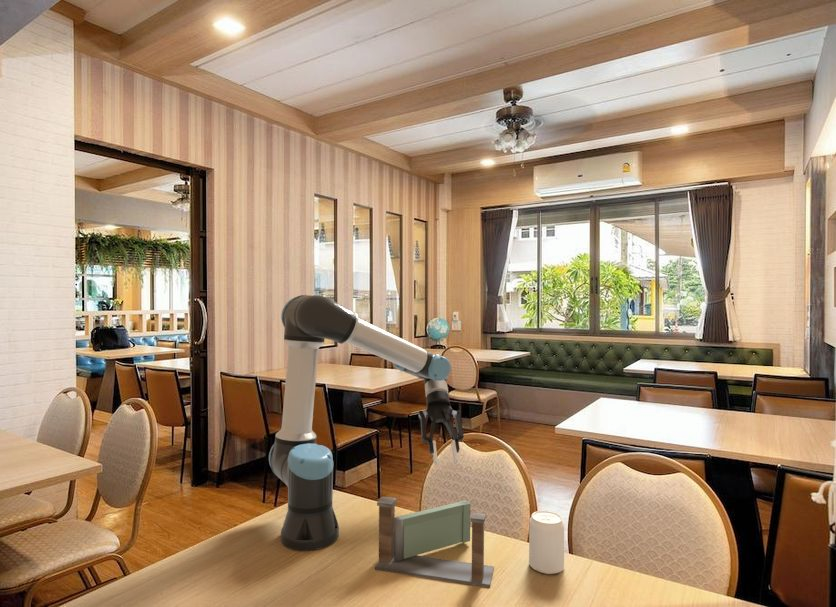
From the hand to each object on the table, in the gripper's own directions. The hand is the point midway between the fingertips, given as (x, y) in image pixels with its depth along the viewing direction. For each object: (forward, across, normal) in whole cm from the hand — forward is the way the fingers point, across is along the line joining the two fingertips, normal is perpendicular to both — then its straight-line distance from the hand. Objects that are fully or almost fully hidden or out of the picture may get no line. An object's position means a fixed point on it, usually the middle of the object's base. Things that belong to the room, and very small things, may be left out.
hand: (445, 462), depth 148 cm
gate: (+25, +7, +4) cm, 27 cm away
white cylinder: (+33, -19, +10) cm, 39 cm away
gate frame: (+31, +8, +9) cm, 34 cm away
